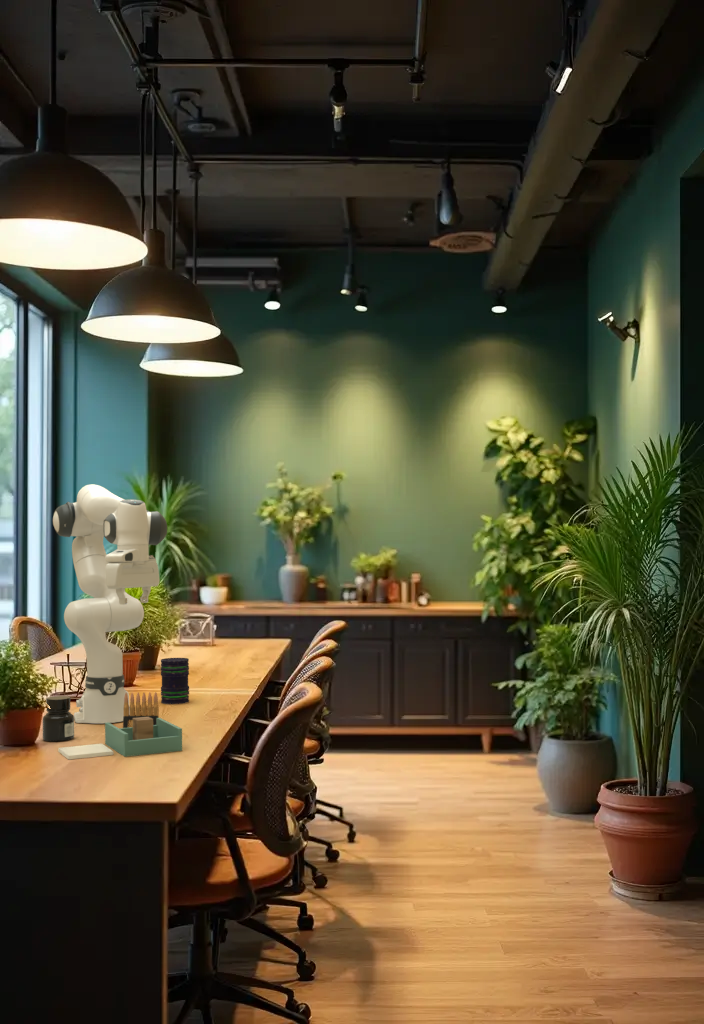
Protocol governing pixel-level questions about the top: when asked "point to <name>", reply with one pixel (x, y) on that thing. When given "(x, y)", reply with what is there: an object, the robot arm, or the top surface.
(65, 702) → the ink bottle
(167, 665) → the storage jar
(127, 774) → the top surface
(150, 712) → the ammunition clip
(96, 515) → the robot arm
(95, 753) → the board
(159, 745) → the box
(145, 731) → the walnut block
